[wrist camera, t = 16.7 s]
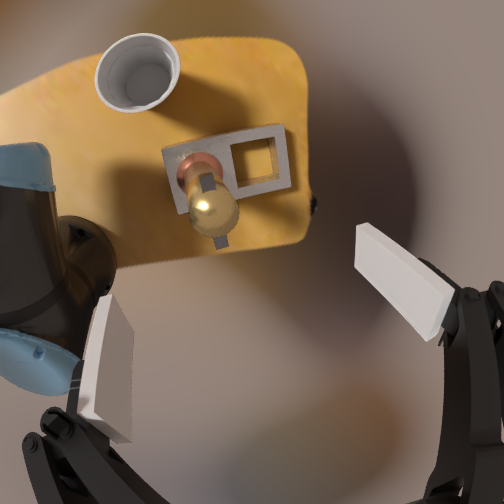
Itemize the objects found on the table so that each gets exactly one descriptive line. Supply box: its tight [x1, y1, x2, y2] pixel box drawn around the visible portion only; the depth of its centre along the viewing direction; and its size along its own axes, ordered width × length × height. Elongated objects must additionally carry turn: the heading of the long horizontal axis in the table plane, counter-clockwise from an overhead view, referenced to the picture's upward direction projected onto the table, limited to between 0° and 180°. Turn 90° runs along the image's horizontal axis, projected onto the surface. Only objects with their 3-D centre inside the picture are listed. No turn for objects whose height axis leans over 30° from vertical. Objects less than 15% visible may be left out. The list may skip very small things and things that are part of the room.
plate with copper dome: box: [161, 123, 291, 215], centre depth 35 cm, size 16×9×3 cm, turn 99°
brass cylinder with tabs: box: [184, 161, 239, 250], centre depth 28 cm, size 6×4×14 cm, turn 9°
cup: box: [95, 33, 180, 113], centre depth 23 cm, size 8×8×12 cm
